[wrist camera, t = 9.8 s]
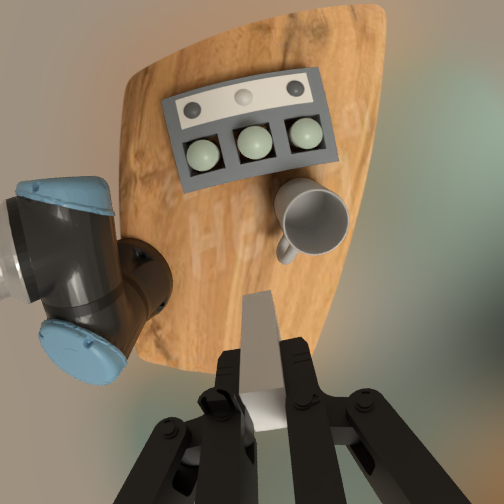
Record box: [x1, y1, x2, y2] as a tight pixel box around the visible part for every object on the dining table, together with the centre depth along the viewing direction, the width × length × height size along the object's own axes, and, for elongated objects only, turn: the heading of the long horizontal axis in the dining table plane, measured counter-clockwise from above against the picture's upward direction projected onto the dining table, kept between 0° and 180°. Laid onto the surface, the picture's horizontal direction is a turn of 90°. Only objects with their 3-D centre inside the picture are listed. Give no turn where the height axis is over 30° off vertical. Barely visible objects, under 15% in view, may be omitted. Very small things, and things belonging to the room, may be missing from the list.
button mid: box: [238, 126, 272, 159], centre depth 33 cm, size 4×4×4 cm
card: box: [175, 73, 313, 130], centre depth 32 cm, size 18×4×1 cm, turn 103°
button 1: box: [288, 118, 323, 149], centre depth 35 cm, size 4×4×4 cm
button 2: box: [187, 140, 221, 171], centre depth 36 cm, size 4×4×4 cm
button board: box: [161, 67, 339, 194], centre depth 35 cm, size 22×14×4 cm, turn 102°
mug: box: [274, 178, 349, 265], centre depth 37 cm, size 12×8×11 cm
